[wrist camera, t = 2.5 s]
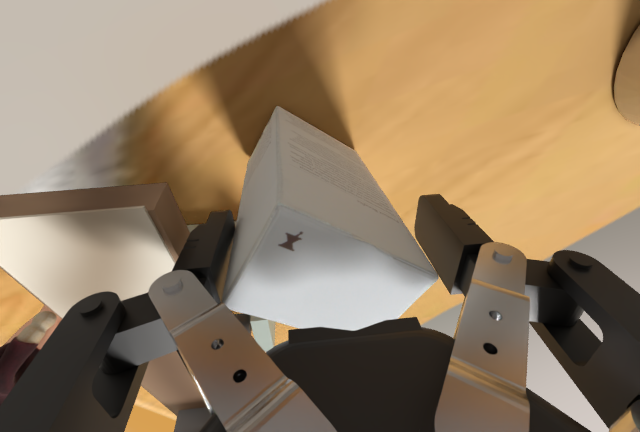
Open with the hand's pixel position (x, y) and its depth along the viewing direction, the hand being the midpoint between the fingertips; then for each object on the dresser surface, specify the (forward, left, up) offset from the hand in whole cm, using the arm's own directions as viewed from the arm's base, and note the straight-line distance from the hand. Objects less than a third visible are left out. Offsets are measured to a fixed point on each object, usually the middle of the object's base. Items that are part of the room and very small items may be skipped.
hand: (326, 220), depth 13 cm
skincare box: (+1, 0, -8) cm, 8 cm away
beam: (+9, +9, -2) cm, 12 cm away
